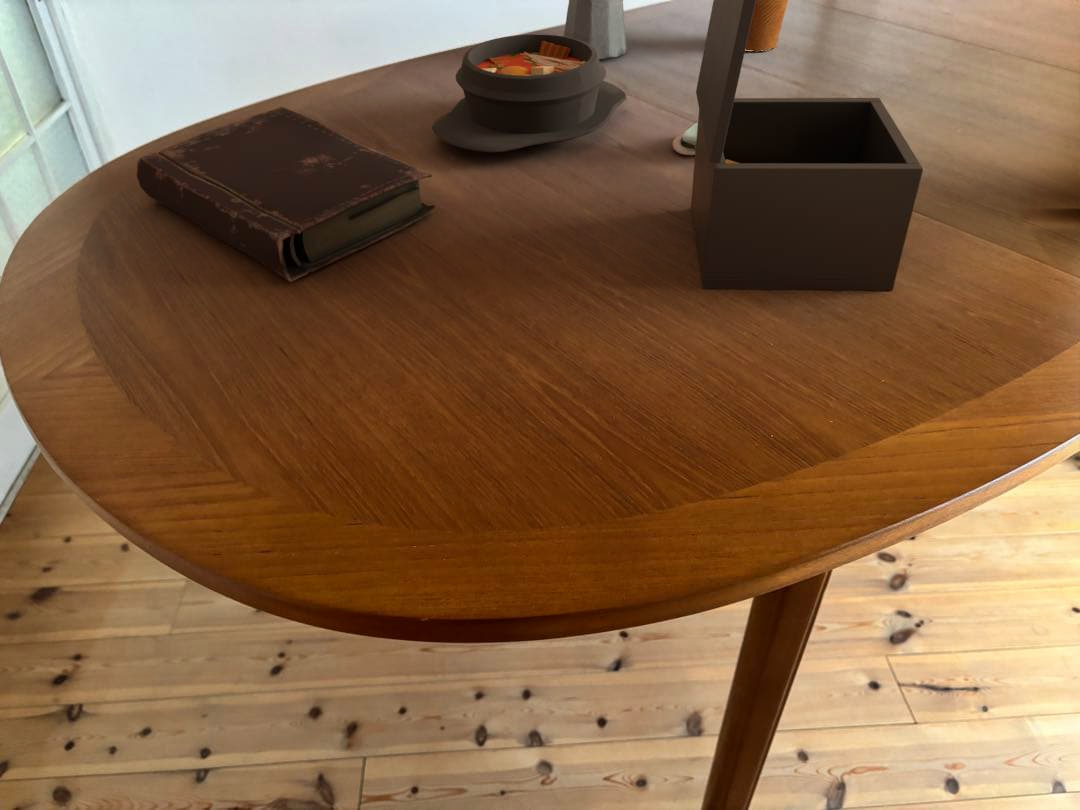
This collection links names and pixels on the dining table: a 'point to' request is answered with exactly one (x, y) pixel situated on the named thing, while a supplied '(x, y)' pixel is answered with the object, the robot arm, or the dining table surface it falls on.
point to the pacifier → (688, 137)
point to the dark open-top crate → (804, 196)
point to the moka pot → (597, 25)
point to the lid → (722, 69)
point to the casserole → (528, 94)
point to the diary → (285, 190)
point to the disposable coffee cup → (766, 24)
